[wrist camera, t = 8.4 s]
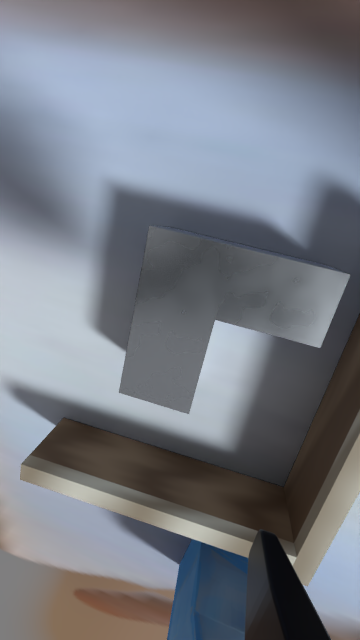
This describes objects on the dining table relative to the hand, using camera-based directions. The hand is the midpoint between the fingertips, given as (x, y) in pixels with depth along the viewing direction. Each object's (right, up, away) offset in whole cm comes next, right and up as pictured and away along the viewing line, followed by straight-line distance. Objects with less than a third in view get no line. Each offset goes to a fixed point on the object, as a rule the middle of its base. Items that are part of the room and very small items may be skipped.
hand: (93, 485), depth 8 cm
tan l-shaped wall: (+4, +2, +11) cm, 12 cm away
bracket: (+5, +5, +10) cm, 12 cm away
